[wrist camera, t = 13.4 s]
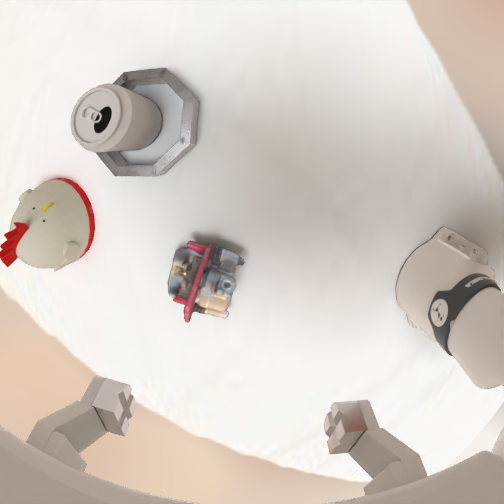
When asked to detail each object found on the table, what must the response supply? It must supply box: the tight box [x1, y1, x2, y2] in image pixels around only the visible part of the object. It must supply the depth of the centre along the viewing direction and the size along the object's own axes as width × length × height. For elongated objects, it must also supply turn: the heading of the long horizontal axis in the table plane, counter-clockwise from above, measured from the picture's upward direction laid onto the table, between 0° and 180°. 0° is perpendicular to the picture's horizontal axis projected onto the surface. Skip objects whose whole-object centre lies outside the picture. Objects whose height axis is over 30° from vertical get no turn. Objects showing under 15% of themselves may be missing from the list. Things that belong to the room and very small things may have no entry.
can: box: [71, 84, 162, 152], centre depth 26 cm, size 8×8×12 cm
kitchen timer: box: [0, 178, 95, 271], centre depth 29 cm, size 14×14×15 cm
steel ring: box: [96, 68, 200, 176], centre depth 30 cm, size 14×14×4 cm
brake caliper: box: [168, 241, 244, 322], centre depth 36 cm, size 11×11×12 cm
